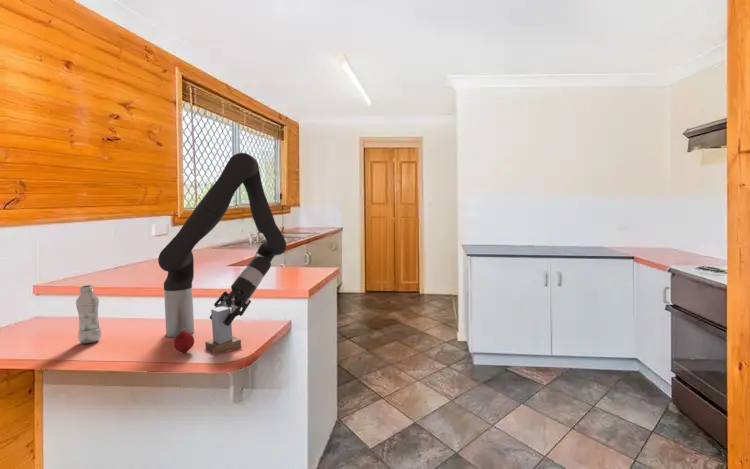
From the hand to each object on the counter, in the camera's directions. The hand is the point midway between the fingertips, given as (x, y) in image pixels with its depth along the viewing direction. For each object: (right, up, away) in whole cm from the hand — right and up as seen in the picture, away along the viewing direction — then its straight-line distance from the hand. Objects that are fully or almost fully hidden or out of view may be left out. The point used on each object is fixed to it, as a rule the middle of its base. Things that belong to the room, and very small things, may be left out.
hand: (218, 322), depth 119 cm
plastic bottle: (-49, -9, +8) cm, 50 cm away
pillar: (+1, -6, +1) cm, 7 cm away
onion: (-10, -10, -3) cm, 14 cm away
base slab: (+1, -10, +2) cm, 10 cm away
